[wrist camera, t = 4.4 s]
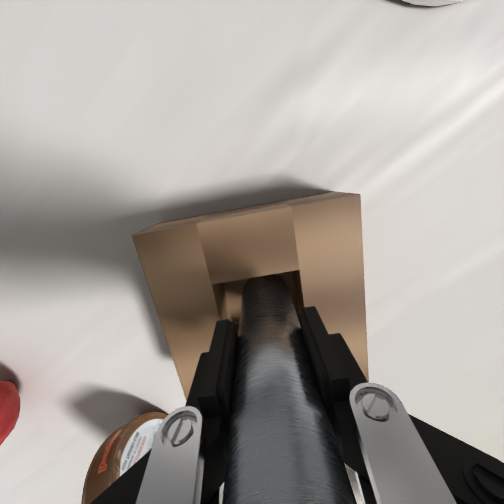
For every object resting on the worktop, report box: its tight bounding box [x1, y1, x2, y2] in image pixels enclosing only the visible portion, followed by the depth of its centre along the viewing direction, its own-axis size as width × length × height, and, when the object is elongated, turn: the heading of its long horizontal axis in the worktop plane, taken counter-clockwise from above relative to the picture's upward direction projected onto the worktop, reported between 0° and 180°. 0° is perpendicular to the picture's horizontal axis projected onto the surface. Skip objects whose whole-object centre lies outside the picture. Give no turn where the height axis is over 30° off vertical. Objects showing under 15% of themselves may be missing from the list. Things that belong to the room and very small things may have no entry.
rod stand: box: [132, 192, 369, 400], centre depth 16 cm, size 12×12×4 cm
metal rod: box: [222, 274, 357, 504], centre depth 8 cm, size 3×3×14 cm
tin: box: [82, 412, 224, 504], centre depth 18 cm, size 15×3×8 cm, turn 39°
